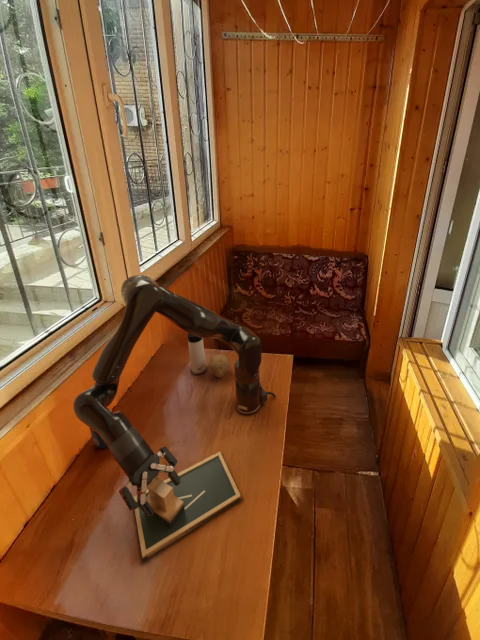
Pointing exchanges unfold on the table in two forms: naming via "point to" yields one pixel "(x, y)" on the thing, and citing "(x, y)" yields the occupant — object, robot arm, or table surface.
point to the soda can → (98, 438)
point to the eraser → (164, 502)
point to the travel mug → (196, 354)
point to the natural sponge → (219, 365)
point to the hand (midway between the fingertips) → (166, 498)
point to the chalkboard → (190, 504)
